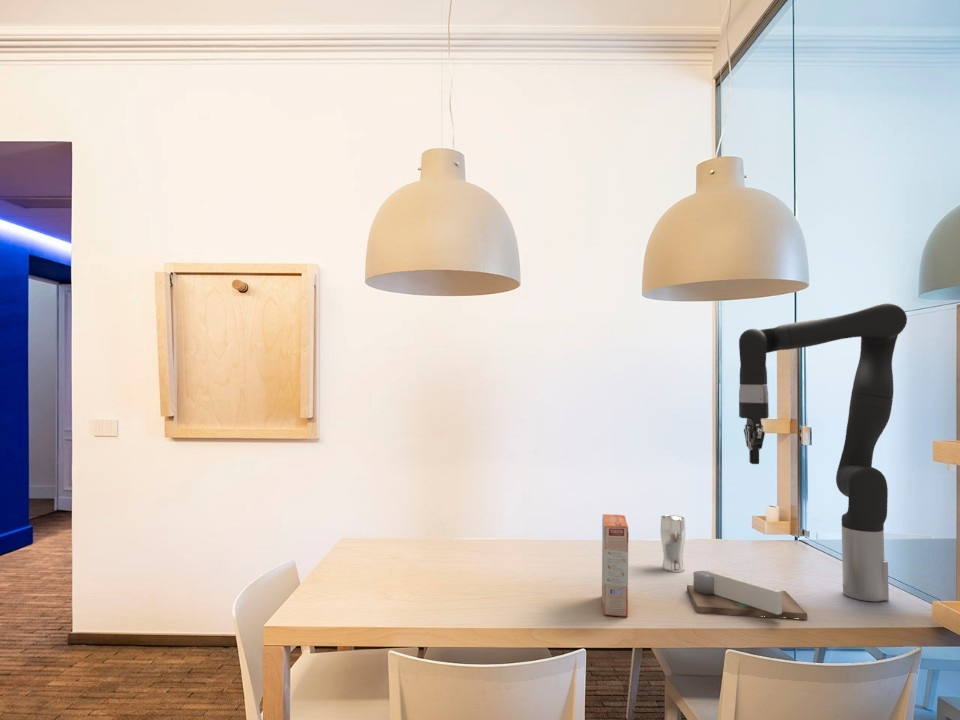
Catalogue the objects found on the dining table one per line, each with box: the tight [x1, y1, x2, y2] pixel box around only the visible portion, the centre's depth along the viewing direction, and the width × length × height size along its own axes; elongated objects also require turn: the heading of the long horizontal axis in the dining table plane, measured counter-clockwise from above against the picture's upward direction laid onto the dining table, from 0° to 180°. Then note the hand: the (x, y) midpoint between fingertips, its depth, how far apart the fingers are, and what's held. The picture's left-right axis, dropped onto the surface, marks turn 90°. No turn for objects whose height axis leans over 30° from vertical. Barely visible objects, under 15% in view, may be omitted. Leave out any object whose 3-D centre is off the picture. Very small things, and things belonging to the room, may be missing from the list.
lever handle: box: [693, 570, 783, 615], centre depth 150 cm, size 22×6×5 cm, turn 34°
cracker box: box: [601, 513, 629, 618], centre depth 151 cm, size 14×6×21 cm, turn 170°
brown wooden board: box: [686, 584, 808, 620], centre depth 152 cm, size 24×16×2 cm, turn 80°
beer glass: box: [659, 514, 686, 573], centre depth 182 cm, size 7×7×15 cm
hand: (754, 463), depth 172 cm, fingers closed
